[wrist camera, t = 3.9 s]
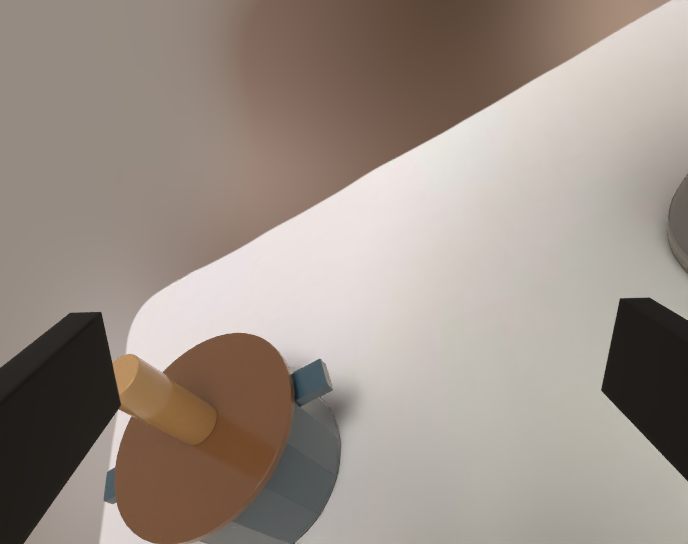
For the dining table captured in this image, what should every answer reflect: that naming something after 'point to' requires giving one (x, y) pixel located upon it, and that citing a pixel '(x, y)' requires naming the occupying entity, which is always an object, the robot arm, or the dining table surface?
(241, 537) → the pot
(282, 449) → the lid
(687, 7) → the dining table surface
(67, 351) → the robot arm
